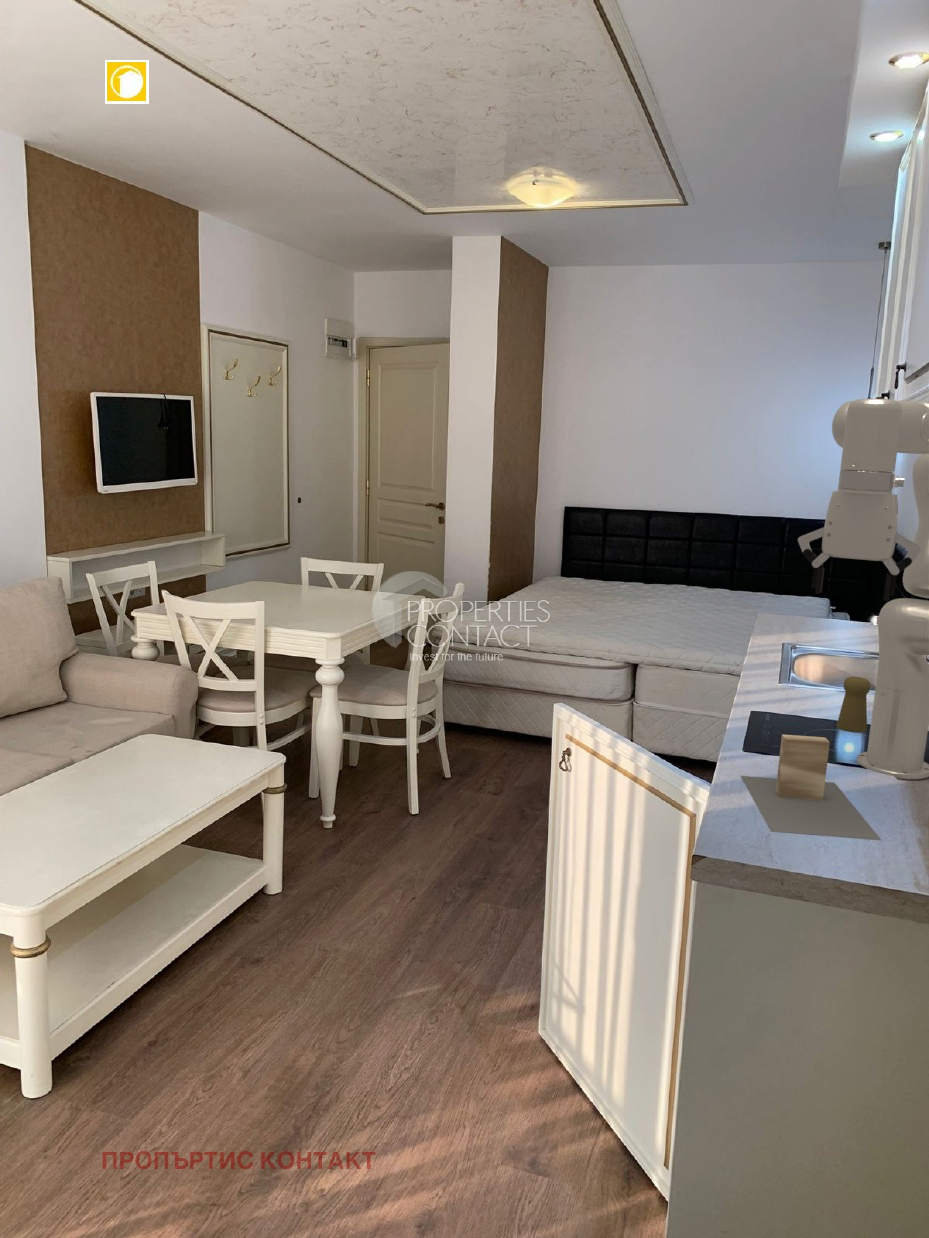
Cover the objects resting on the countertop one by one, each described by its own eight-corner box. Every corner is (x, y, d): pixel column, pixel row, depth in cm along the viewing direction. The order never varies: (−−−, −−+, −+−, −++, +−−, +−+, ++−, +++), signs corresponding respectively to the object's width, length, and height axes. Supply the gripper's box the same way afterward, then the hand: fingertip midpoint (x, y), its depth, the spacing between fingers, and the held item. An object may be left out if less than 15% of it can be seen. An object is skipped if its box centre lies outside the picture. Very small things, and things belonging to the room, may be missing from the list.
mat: (740, 778, 164) (740, 775, 163) (834, 785, 162) (834, 782, 162) (770, 835, 140) (771, 831, 140) (881, 843, 139) (881, 839, 139)
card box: (775, 791, 157) (781, 733, 155) (818, 794, 156) (825, 736, 154) (779, 797, 154) (785, 739, 152) (822, 800, 153) (829, 742, 151)
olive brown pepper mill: (859, 724, 200) (865, 674, 198) (872, 733, 194) (878, 681, 192) (831, 723, 200) (837, 673, 198) (843, 732, 194) (850, 680, 192)
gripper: (929, 486, 140) (913, 599, 143) (807, 479, 147) (795, 587, 150) (929, 487, 133) (913, 606, 136) (802, 480, 140) (789, 593, 143)
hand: (851, 596), depth 143 cm, fingers open, 9 cm apart
